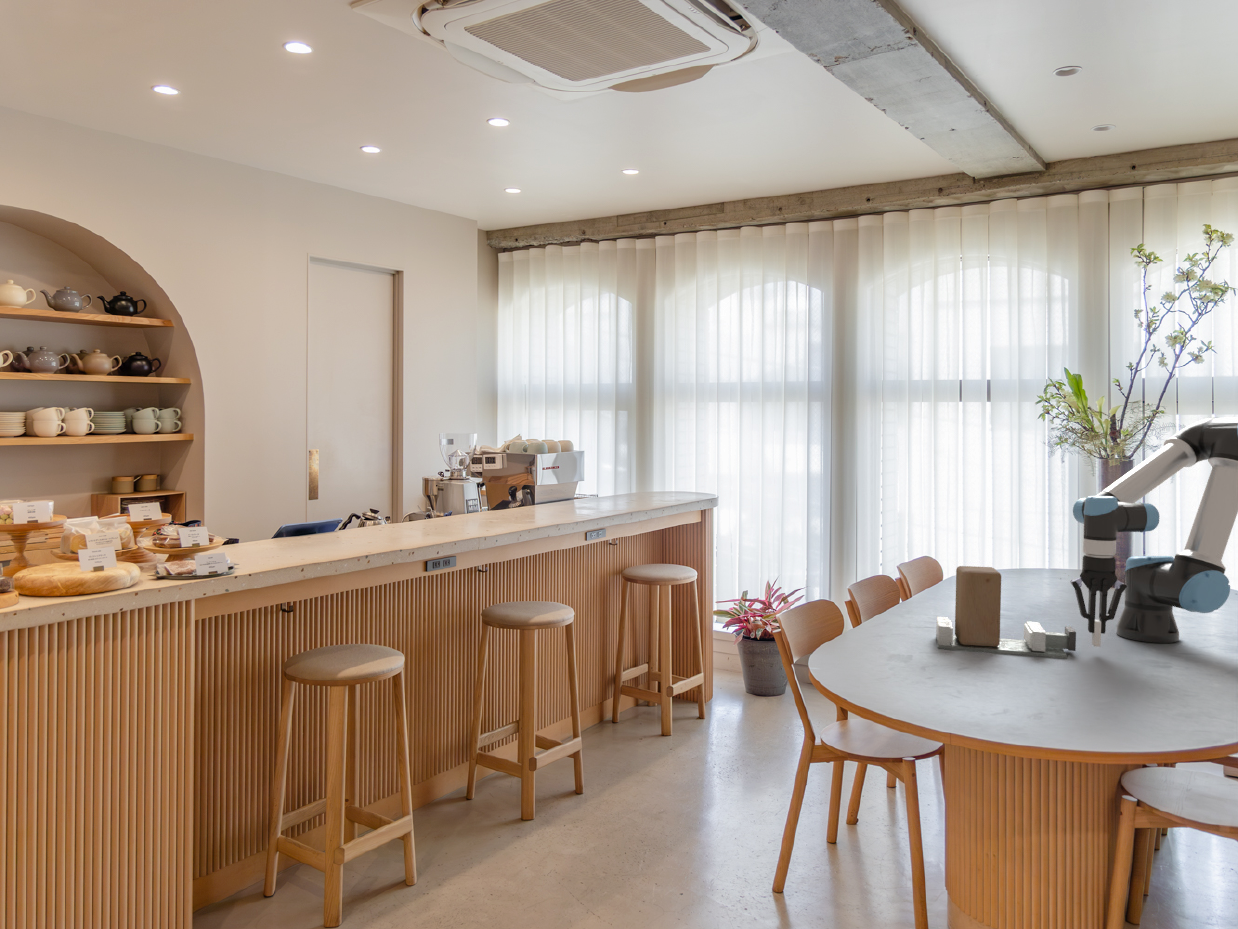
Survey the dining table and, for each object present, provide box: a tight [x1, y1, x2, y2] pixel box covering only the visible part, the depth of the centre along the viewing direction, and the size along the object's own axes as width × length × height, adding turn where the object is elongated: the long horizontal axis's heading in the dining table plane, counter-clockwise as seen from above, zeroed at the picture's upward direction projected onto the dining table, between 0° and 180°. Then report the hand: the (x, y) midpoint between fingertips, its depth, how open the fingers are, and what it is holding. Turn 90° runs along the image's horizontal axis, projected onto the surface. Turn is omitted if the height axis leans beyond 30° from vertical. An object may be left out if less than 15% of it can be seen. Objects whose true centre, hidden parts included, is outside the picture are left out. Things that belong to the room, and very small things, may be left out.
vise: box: [935, 616, 1068, 660], centre depth 234 cm, size 31×13×6 cm, turn 72°
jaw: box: [1023, 621, 1077, 652], centre depth 230 cm, size 11×12×5 cm
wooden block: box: [954, 565, 1002, 647], centre depth 235 cm, size 10×10×20 cm
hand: (1096, 645), depth 227 cm, fingers closed
